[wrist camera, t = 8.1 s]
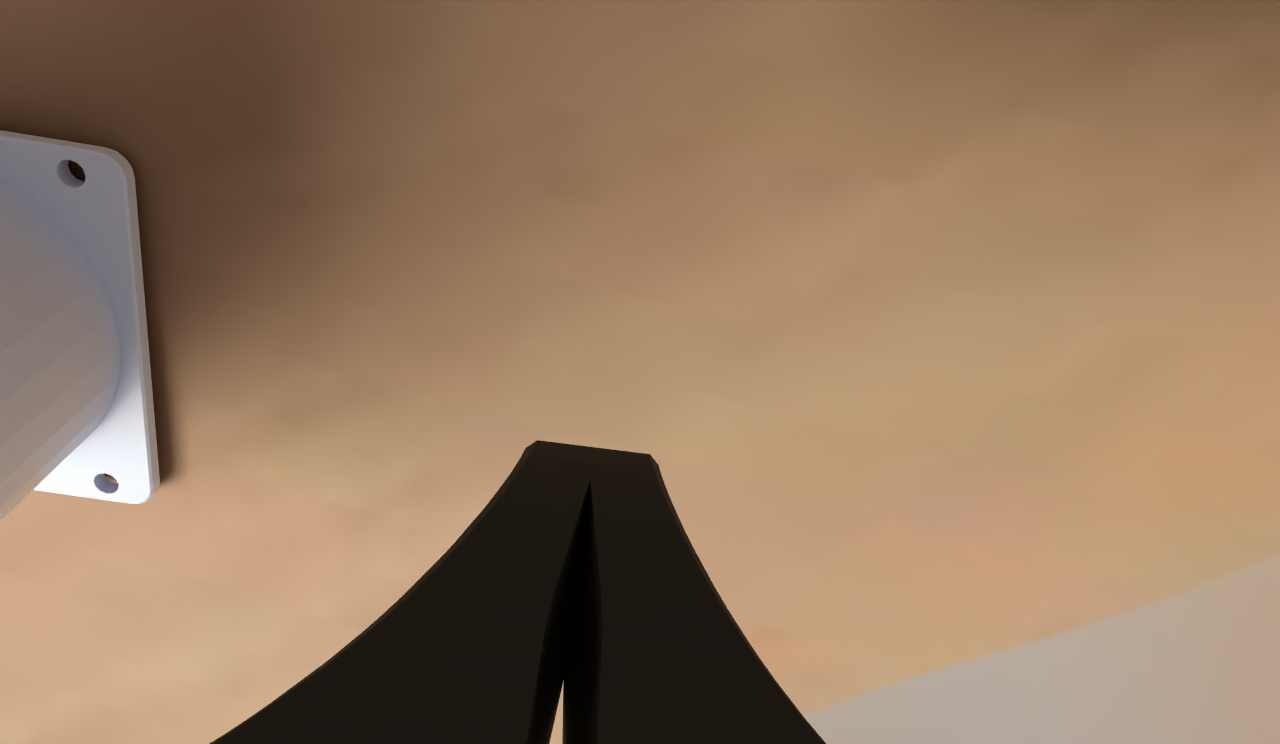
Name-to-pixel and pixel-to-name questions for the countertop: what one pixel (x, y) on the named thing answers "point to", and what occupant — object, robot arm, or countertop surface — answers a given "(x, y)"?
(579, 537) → the robot arm
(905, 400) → the countertop surface
